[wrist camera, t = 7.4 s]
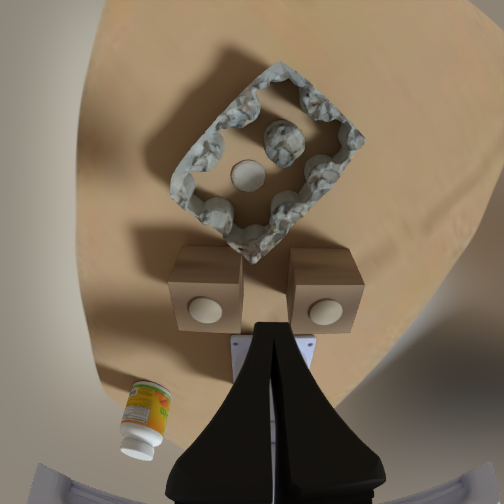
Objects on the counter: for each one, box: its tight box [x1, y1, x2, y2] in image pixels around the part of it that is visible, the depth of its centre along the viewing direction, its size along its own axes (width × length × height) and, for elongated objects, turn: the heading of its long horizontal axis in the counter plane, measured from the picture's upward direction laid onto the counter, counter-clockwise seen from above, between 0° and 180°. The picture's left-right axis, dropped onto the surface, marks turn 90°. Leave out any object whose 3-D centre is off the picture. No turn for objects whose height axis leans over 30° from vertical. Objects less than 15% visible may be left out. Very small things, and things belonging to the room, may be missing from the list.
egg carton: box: [170, 61, 366, 265], centre depth 16 cm, size 11×8×4 cm
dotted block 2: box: [286, 248, 365, 334], centre depth 21 cm, size 4×4×5 cm
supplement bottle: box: [120, 381, 171, 461], centre depth 30 cm, size 5×5×10 cm
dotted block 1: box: [168, 246, 244, 334], centre depth 21 cm, size 4×4×5 cm
